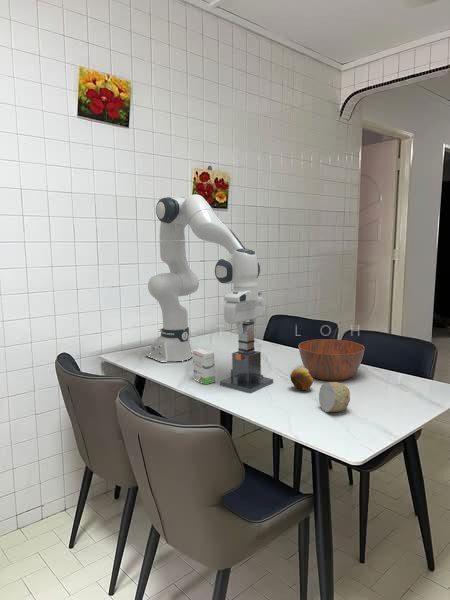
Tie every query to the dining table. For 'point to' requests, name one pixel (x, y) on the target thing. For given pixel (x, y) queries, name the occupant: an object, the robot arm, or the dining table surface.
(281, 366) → the dining table surface
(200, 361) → the ink box
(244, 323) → the column
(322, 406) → the yellow rounded chunk
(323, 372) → the bowl
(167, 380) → the dining table surface
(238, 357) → the stand
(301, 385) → the fruit
